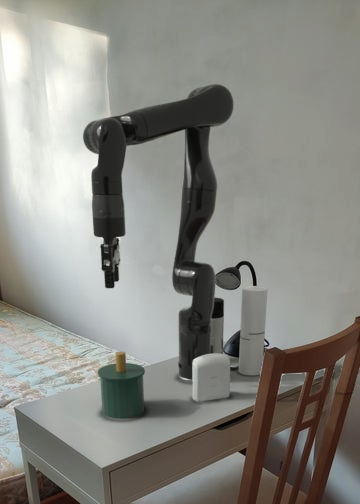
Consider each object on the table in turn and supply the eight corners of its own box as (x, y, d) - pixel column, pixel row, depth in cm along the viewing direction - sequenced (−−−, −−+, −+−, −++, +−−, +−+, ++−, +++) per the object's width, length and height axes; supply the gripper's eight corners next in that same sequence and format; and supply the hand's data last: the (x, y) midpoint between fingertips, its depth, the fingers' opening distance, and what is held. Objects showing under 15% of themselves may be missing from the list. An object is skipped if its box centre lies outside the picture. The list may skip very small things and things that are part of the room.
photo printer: (195, 404, 138) (196, 359, 133) (189, 398, 142) (190, 354, 137) (231, 399, 141) (233, 354, 136) (225, 393, 145) (226, 349, 140)
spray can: (225, 364, 167) (227, 301, 159) (205, 366, 165) (206, 302, 157) (218, 357, 173) (220, 296, 165) (198, 359, 171) (199, 297, 163)
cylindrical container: (261, 376, 157) (266, 291, 147) (237, 374, 158) (241, 290, 148) (262, 368, 163) (268, 286, 153) (239, 366, 165) (243, 285, 155)
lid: (125, 364, 137) (124, 343, 135) (154, 375, 130) (153, 353, 127) (88, 375, 130) (87, 352, 128) (117, 387, 122) (116, 364, 120)
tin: (126, 400, 141) (124, 362, 136) (152, 412, 134) (151, 372, 130) (94, 411, 134) (91, 372, 130) (119, 424, 127) (117, 383, 123)
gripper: (120, 217, 118) (124, 290, 124) (128, 213, 131) (130, 279, 137) (87, 217, 118) (92, 290, 124) (97, 213, 131) (101, 279, 137)
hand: (112, 284), depth 131 cm, fingers open, 8 cm apart
